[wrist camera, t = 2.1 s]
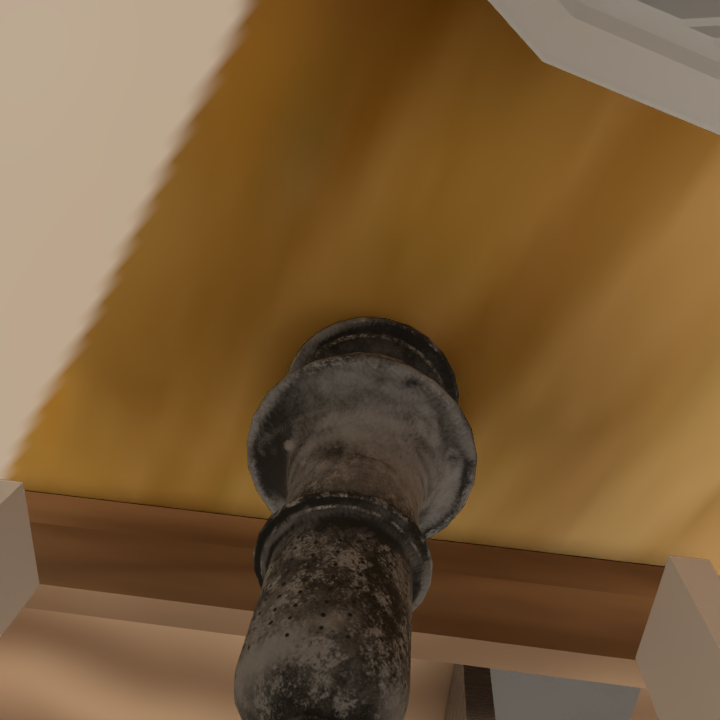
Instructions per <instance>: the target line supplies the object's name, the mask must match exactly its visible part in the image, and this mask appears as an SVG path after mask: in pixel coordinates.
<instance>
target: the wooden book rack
mask: <svg viewBox="0 0 720 720" xmlns="http://www.w3.org/2000/svg"><path fill="white" fill-rule="evenodd" d="M25 496H26V502H27V509H28V515H29V521H30V527H31V534H32V540H33V546H34V553H35V559H36V565H37V572H38V578H39V584H40V586H39V587H38V589H37V590H36V591H35V593H34V594H33V595H32V596H31V598H30V599H29V600H28V602H27V603H26V604H25V606H24V607H23V608H22V609H21V611H20V612H19V613H18V615H17V616H16V617H15V619H14V620H13V621H12V623H11V624H10V625H9V626H8V628H7V629H6V630H5V632H4V633H3V634H2V636H1V637H0V720H242V719H241V717H240V714H239V712H238V710H237V707H236V705H235V700H234V675H235V669H236V666H237V663H238V659H239V656H240V653H241V650H242V647H243V644H244V641H245V638H246V635H247V631H248V628H249V625H250V622H251V619H252V616H253V613H254V610H255V607H256V604H257V600H258V597H259V594H260V591H261V587H260V585H259V582H258V579H257V577H256V574H255V571H254V556H253V551H254V548H255V545H256V541H257V538H258V535H259V532H260V530H261V529H262V527H263V526H264V525H265V523H266V522H267V520H265V519H256V518H248V517H239V516H231V515H223V514H214V513H206V512H198V511H189V510H181V509H172V508H164V507H156V506H147V505H139V504H131V503H122V502H114V501H105V500H97V499H89V498H80V497H72V496H64V495H55V494H47V493H38V492H30V491H25ZM427 542H428V544H429V548H430V553H431V557H432V561H433V569H432V578H431V585H430V587H429V589H428V591H427V593H426V596H425V598H424V600H423V601H422V602H421V604H420V605H419V606H418V607H417V608H416V609H415V610H414V611H413V612H412V632H411V670H410V693H409V703H408V706H407V710H406V714H405V717H404V720H445V715H446V710H447V704H448V699H449V693H450V688H451V682H452V677H453V672H454V666H455V664H462V665H469V666H477V667H485V668H492V669H500V670H508V671H515V672H523V673H531V674H538V675H546V676H554V677H561V678H569V679H577V680H584V681H592V682H600V683H607V684H615V685H623V686H630V687H638V688H641V690H640V693H639V696H638V698H637V701H636V704H635V707H634V710H633V712H632V715H631V718H630V720H659V719H658V717H657V714H656V711H655V709H654V706H653V703H652V701H651V698H650V696H649V693H648V690H647V688H646V685H645V683H644V680H643V677H642V675H641V672H640V669H639V667H638V664H637V662H636V659H635V657H636V654H637V651H638V648H639V645H640V642H641V639H642V636H643V633H644V630H645V627H646V624H647V621H648V618H649V615H650V612H651V609H652V606H653V603H654V600H655V597H656V594H657V591H658V587H659V584H660V581H661V578H662V575H663V572H664V569H665V567H658V566H650V565H641V564H633V563H625V562H616V561H608V560H600V559H591V558H583V557H574V556H566V555H558V554H549V553H541V552H533V551H524V550H516V549H507V548H499V547H491V546H482V545H474V544H466V543H457V542H449V541H440V540H432V539H427Z"/></svg>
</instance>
